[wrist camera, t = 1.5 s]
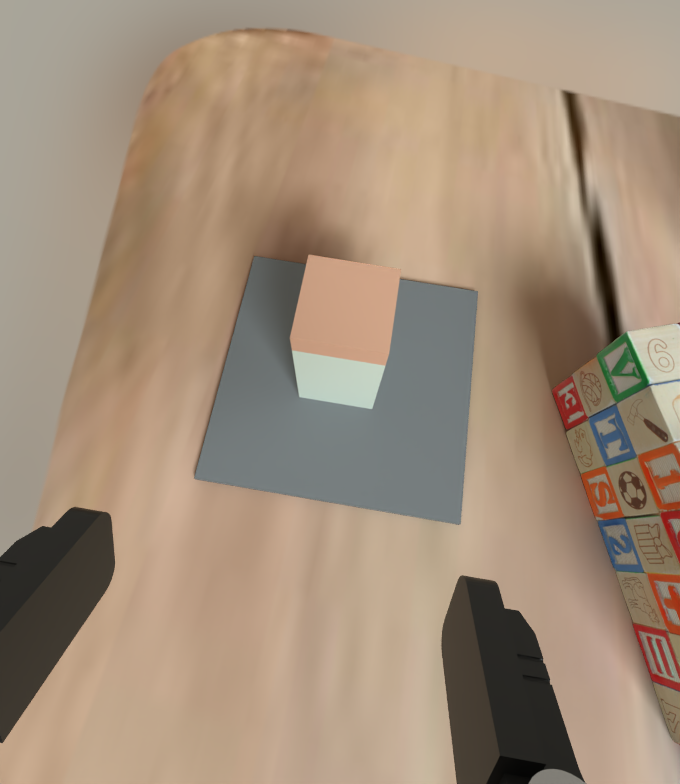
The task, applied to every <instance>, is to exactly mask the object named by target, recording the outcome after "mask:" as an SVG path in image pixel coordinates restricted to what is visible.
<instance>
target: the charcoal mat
mask: <svg viewBox="0 0 680 784" xmlns="http://www.w3.org/2000/svg"><path fill="white" fill-rule="evenodd" d="M305 268H306V264H302V263H295V262H289V261H283V260H276V259H270V258H264V257H257V256H254V259H253V263H252V267H251V270H250V274H249V278H248V282H247V285H246V289H245V293H244V296H243V300H242V304H241V307H240V311H239V315H238V318H237V322H236V326H235V329H234V333H233V337H232V341H231V344H230V348H229V352H228V355H227V359H226V363H225V366H224V370H223V374H222V377H221V381H220V385H219V388H218V392H217V396H216V400H215V403H214V407H213V411H212V414H211V418H210V422H209V425H208V429H207V433H206V436H205V440H204V444H203V447H202V451H201V455H200V459H199V462H198V466H197V470H196V473H195V477H194V478H195V479H197V480H203V481H209V482H215V483H220V484H226V485H232V486H238V487H244V488H249V489H255V490H261V491H267V492H273V493H278V494H284V495H290V496H296V497H302V498H307V499H313V500H319V501H325V502H330V503H336V504H342V505H348V506H354V507H359V508H365V509H371V510H377V511H383V512H388V513H394V514H400V515H406V516H412V517H417V518H423V519H429V520H435V521H441V522H446V523H452V524H458V525H459V524H461V511H462V497H463V484H464V471H465V457H466V444H467V431H468V417H469V404H470V391H471V377H472V364H473V351H474V337H475V324H476V311H477V297H478V291H472V290H466V289H459V288H453V287H447V286H440V285H434V284H428V283H422V282H415V281H409V280H403V279H400V281H399V288H398V295H397V302H396V309H395V316H394V323H393V330H392V337H391V344H390V351H389V356H388V359H387V362H386V366H385V369H384V372H383V375H382V379H381V382H380V385H379V389H378V392H377V395H376V398H375V402H374V405H373V408H372V409H368V408H362V407H356V406H350V405H344V404H338V403H332V402H326V401H320V400H314V399H308V398H302V397H299V392H298V386H297V380H296V373H295V367H294V361H293V354H292V348H291V342H290V335H291V330H292V326H293V322H294V317H295V313H296V308H297V304H298V299H299V295H300V290H301V286H302V281H303V277H304V273H305Z"/></svg>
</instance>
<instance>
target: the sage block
mask: <svg viewBox="0 0 680 784" xmlns="http://www.w3.org/2000/svg"><path fill="white" fill-rule="evenodd" d="M400 274H401V269H397V268H390V267H384V266H378V265H371V264H365V263H359V262H352V261H346V260H340V259H333V258H327V257H321V256H314V255H308V259H307V264H306V268H305V273H304V277H303V281H302V286H301V290H300V295H299V299H298V304H297V308H296V313H295V317H294V322H293V326H292V330H291V335H290V342H291V348H292V354H293V361H294V367H295V373H296V380H297V386H298V392H299V397H302V398H308V399H314V400H320V401H326V402H332V403H338V404H344V405H350V406H356V407H362V408H368V409H372V408H373V405H374V402H375V398H376V395H377V392H378V389H379V385H380V382H381V379H382V375H383V372H384V369H385V366H386V362H387V359H388V356H389V351H390V344H391V337H392V330H393V323H394V316H395V309H396V302H397V295H398V288H399V281H400Z"/></svg>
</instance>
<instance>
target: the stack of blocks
mask: <svg viewBox="0 0 680 784" xmlns="http://www.w3.org/2000/svg"><path fill="white" fill-rule="evenodd" d="M552 393H553V395H554V398H555V401H556V403H557V406H558V409H559V412H560V414H561V417H562V420H563V422H564V425H565V428H566V429H567V432H566V435H567V438H568V441H569V444H570V447H571V450H572V452H573V455H574V458H575V461H576V464H577V467H578V469H579V471H580V473H581V478H582V481H583V484H584V487H585V490H586V493H587V496H588V499H589V502H590V505H591V508H592V510H593V513H594V516H595V519H596V520H597V521H598V524H599V527H600V530H601V533H602V536H603V539H604V542H605V545H606V547H607V550H608V553H609V556H610V559H611V562H612V565H613V567H614V569H615V570H616V575H617V578H618V581H619V584H620V586H621V589H622V592H623V595H624V598H625V601H626V603H627V606H628V609H629V612H630V615H631V618H632V620H633V627H634V630H635V633H636V636H637V639H638V642H639V644H640V647H641V650H642V653H643V656H644V659H645V662H646V665H647V668H648V670H649V673H650V676H651V679H652V681H653V686H654V689H655V692H656V695H657V698H658V701H659V704H660V706H661V709H662V712H663V715H664V718H665V721H666V724H667V727H668V730H669V732H670V735H671V738H672V740H673V741H674V742H675V743H677V744H679V745H680V323H678V324H670V325H663V326H657V327H652V328H646V329H640V330H633V331H628V332H626V333H624V334H623V335H621V336H620V337H619V338H617V339H616V340H615V341H613V342H612V343H611V344H610V345H608V346H607V347H606V348H604V349H603V350H602V351H600V352H599V353H598V354H597V357H595V358H593V359H592V360H590V361H589V362H587V363H586V364H585V365H583V366H582V367H581V368H579V369H578V370H576V371H575V372H574V373H573V374H572V376H570V377H568V378H567V379H566V380H564V381H563V382H562V383H560V384H558V385H557V386H556V387H555V388H553V389H552Z"/></svg>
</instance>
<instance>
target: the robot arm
mask: <svg viewBox="0 0 680 784" xmlns="http://www.w3.org/2000/svg"><path fill="white" fill-rule="evenodd" d="M114 568H115V556H114V544H113V533H112V521H111V516H110V514H109V513H107V512H101V511H95V510H90V509H84V508H78V507H73V508H71V509H69V510H68V511H67V512H66V513H65V514H64V515H63V516H62V517H61V518H60V519H59V520H58V521H57V522H56V523H55V524H54V525H53V526H52V528H50V527H44V526H42V527H40V528H38V529H37V530H35V531H33V532H31V533H30V534H28V535H26V536H25V537H23V538H21V539H19V540H18V541H16V542H15V543H14V544H13V545H12V546H11V547H10V548H9V549H8V550H7V551H6V552H5V553H4V554H3V555H2V556H1V557H0V743H3V742H4V740H5V739H6V737H7V736H8V734H9V733H10V731H11V730H12V728H13V727H14V725H15V724H16V723H17V721H18V720H19V718H20V717H21V715H22V714H23V712H24V711H25V709H26V708H27V706H28V705H29V703H30V702H31V700H32V699H33V698H34V696H35V695H36V693H37V692H38V690H39V689H40V687H41V686H42V684H43V683H44V681H45V680H46V678H47V677H48V675H49V674H50V672H51V671H52V670H53V668H54V667H55V665H56V664H57V662H58V661H59V659H60V658H61V656H62V655H63V653H64V652H65V650H66V649H67V647H68V646H69V645H70V643H71V642H72V640H73V639H74V637H75V636H76V634H77V633H78V631H79V630H80V628H81V627H82V625H83V624H84V622H85V621H86V620H87V618H88V617H89V615H90V614H91V612H92V611H93V609H94V608H95V606H96V605H97V603H98V602H99V600H100V599H101V597H102V596H103V594H104V593H105V591H106V590H107V588H108V586H109V584H110V582H111V579H112V576H113V573H114ZM442 658H443V667H444V675H445V684H446V693H447V701H448V710H449V719H450V728H451V736H452V745H453V754H454V763H455V771H456V780H457V784H586V783H585V781H584V779H583V777H582V775H581V773H580V770H579V767H578V764H577V761H576V758H575V755H574V752H573V749H572V746H571V743H570V740H569V737H568V734H567V730H566V727H565V724H564V721H563V718H562V715H561V712H560V709H559V706H558V703H557V700H556V696H555V693H554V690H553V687H552V685H550V678H549V675H548V672H547V669H546V666H545V664H544V663H543V656H542V653H541V650H540V647H539V644H538V641H537V638H536V635H535V633H534V631H533V630H532V629H531V627H530V626H529V624H528V623H527V622H526V620H525V619H524V617H523V616H522V615H521V613H520V612H519V611H517V610H511V609H505V608H504V605H503V601H502V598H501V594H500V590H499V587H498V585H497V583H496V582H495V581H491V580H485V579H480V578H474V577H468V576H460V577H459V579H458V582H457V584H456V587H455V590H454V593H453V596H452V599H451V602H450V605H449V608H448V611H447V614H446V617H445V620H444V624H443V630H442Z"/></svg>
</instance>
